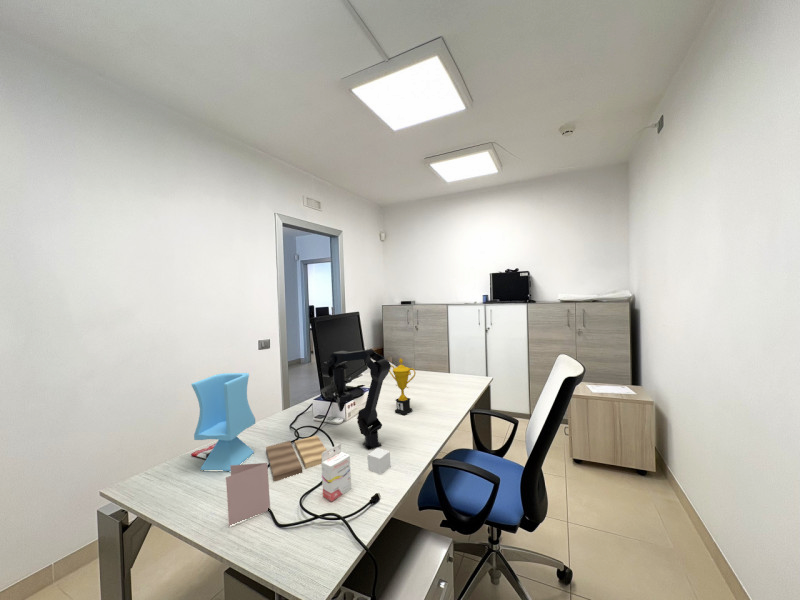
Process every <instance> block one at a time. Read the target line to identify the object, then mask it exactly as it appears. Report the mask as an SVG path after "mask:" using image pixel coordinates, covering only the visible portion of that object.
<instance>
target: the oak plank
mask: <svg viewBox="0 0 800 600" xmlns="http://www.w3.org/2000/svg"><path fill="white" fill-rule="evenodd" d="M294 447H295V449H296V451H297V454H298V456H299V458H300V460H301V463H302V464H303V467H304V468H305V469H309V468H312V467H315V466H316V467H317V466H318V465H322V464H321V462H322V453H323V452H325V451H327V450H328V449H327V448H326V447H325V445H324V444H323V443H322V441H321V439H320V437H319V436H318V435H313V436H310V437H306V438H301V439H297V440H295V441H294ZM328 454H330V452H329V453H328Z"/></svg>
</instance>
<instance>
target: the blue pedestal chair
mask: <svg viewBox="0 0 800 600" xmlns="http://www.w3.org/2000/svg"><path fill="white" fill-rule="evenodd" d="M249 377H250V374H249V373H248V372H234V373H233V372H229V373H227V372H226V373H219V374H215V375H212V376H208V377H205V378H203V379H201V380H198V381H195V382H192V383H191V387H192V389H193V391H194V393H195V396H196V399H197V401H198V405H199V414H198V415H199V416H198V422H197V425H196V428H195V430H194V431H195V432H194V434H193V435H194V436H193V437H194V438H193V439H194V441H206V440H217V442H216V443H215V445H214V447H213V448H212V449H211V451H210V453H208V454H209V455H208V456H207V457H206V459H205V461H204V462H203V464H202V465H201V467H200V471H201V470H223V471H231V468H230V465H240V464H241V463H242V462H243V463H245V462H246V461H247V460H248V459H249V458H251V457H250V456H251V455H252V454H253V455H254V454H255V450H253V449H252V448H251V447H250V446H249V445H247V444H246V443H245V442H243V441H242V440H241V439H240V438H239V437H238V436H239V435H240V434H241V433H243V432H244V431H245V430H246V429H249V428H251V427H253V426H254V425H255V424H256V417H255V416H254V414H253V412H252V409H251V407H250V404H249V400H248V382H249ZM253 455H252V456H253ZM247 458H248V459H247ZM246 459H247V460H246ZM245 460H246V461H245ZM244 461H245V462H244ZM243 463H242V464H243ZM242 464H241V465H242Z"/></svg>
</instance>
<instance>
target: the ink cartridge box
mask: <svg viewBox="0 0 800 600" xmlns="http://www.w3.org/2000/svg"><path fill="white" fill-rule="evenodd" d="M326 450H327V451H325V452H323V453H322V462H321V464H320V465H321V482H322V483H321V484H322V497H323V498H325V499H327V501H330V502H333V501H335V500H336V499H338V498H340V497H341V496H343V495H344V494H346V493H347V492H348V491H350V490H351V489H352V479H351V478H352V476H351V456H350V454H348V453H345V452H343V451H342V444H341V443H339V444H337V445H335V446H332V447H331V448H328V449H326ZM332 451H333V452H332ZM328 453H329V454H328Z"/></svg>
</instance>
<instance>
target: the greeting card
mask: <svg viewBox="0 0 800 600" xmlns="http://www.w3.org/2000/svg"><path fill="white" fill-rule="evenodd" d="M230 468H231V472H230V475H229V476H226V477H225V482H226V483H225V485H226V497H227V498H226V499H227V513H228V515H227V516H228V527H229V526H230V525H232V524H235V523H237V522H240V521H242V520H245V519H248V518H250V517H253V516H255V515H258V514H260V515H262V514H264V513H263V512H265V513H267V512H268V511H267V510H268V508H270V509H271V501H270V500H271V498H270V484H269V482H270V481H269V467H268V462H261V463H260V462H259V463H247V464H245V463H243V464H241V465H230ZM266 511H267V512H266ZM261 513H262V514H261ZM258 516H259V515H258ZM253 518H254V517H253Z"/></svg>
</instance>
